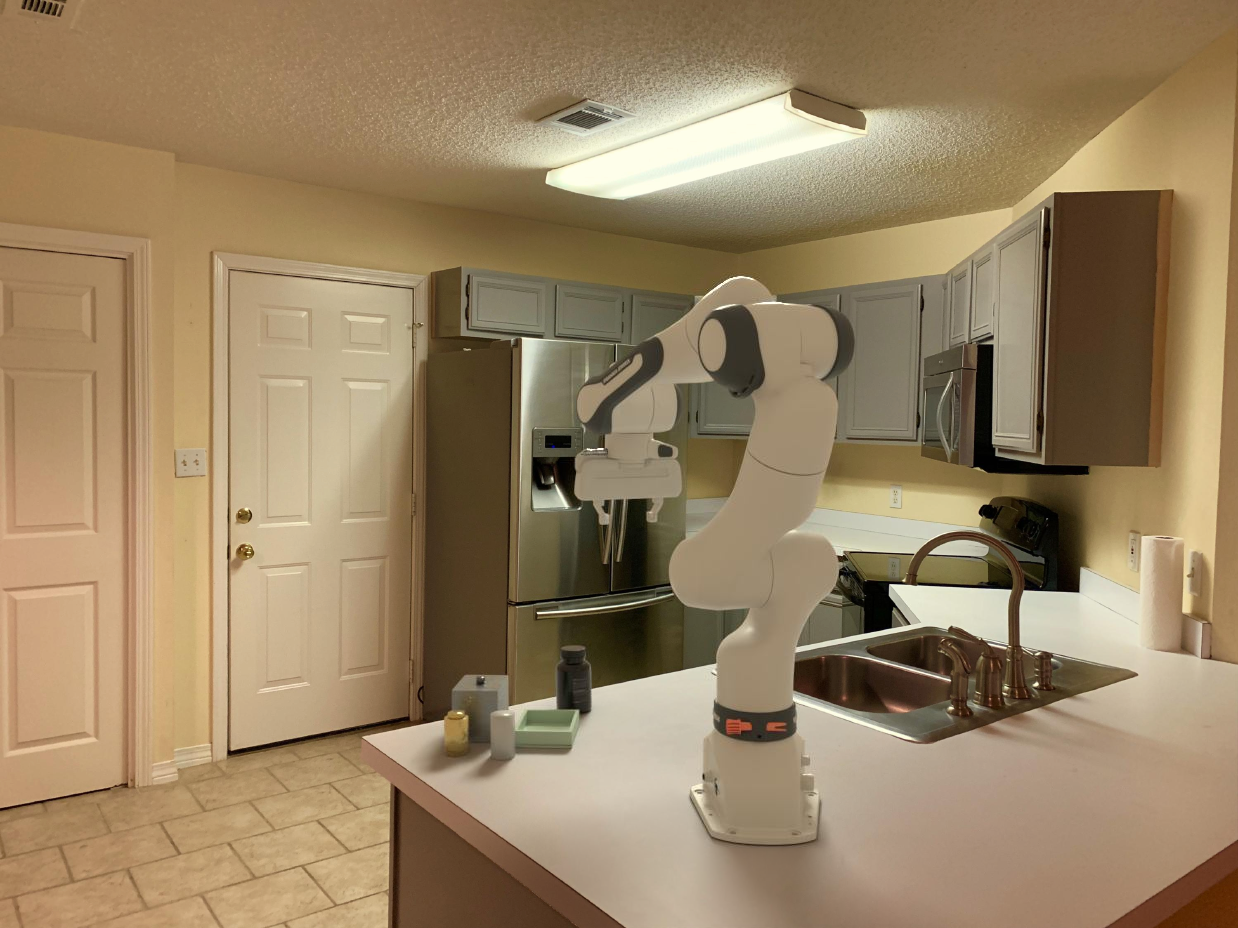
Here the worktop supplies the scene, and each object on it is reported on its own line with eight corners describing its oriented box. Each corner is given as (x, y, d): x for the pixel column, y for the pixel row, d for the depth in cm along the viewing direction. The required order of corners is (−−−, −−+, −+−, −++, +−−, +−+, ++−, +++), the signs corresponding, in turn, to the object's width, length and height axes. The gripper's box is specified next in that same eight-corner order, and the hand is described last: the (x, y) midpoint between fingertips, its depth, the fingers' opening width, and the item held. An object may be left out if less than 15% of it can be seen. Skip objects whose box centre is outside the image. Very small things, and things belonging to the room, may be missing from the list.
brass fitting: (465, 757, 148) (465, 716, 148) (441, 756, 149) (441, 716, 148) (471, 748, 152) (470, 708, 152) (447, 748, 153) (447, 708, 152)
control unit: (498, 742, 155) (497, 685, 155) (452, 741, 156) (451, 684, 155) (509, 722, 166) (508, 669, 165) (466, 722, 166) (465, 668, 166)
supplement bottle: (593, 704, 177) (593, 643, 176) (589, 715, 170) (588, 652, 169) (559, 703, 177) (558, 643, 177) (553, 714, 170) (552, 651, 170)
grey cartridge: (512, 760, 147) (512, 717, 147) (488, 759, 147) (488, 717, 147) (517, 751, 151) (516, 710, 151) (493, 751, 151) (493, 709, 151)
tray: (571, 748, 152) (571, 731, 152) (513, 746, 153) (513, 730, 153) (579, 724, 164) (579, 709, 164) (525, 723, 165) (524, 708, 165)
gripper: (580, 450, 159) (580, 528, 160) (686, 448, 166) (685, 522, 167) (569, 448, 165) (569, 522, 166) (672, 446, 172) (671, 518, 173)
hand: (628, 522), depth 167 cm, fingers open, 8 cm apart
